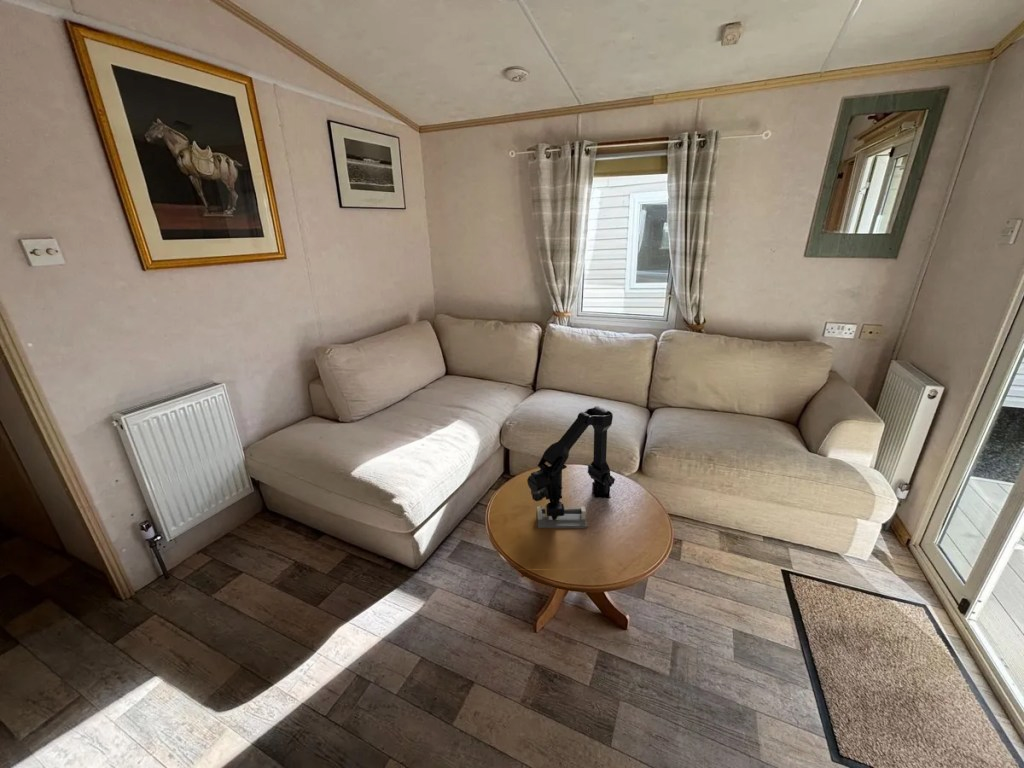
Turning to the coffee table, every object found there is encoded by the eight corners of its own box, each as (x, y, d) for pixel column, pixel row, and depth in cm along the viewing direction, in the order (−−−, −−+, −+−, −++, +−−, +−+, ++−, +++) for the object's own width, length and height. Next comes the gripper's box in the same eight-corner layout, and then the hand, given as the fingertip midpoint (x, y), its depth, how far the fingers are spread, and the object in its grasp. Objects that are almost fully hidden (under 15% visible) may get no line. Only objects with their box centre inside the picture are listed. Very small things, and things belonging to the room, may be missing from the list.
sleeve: (558, 512, 153) (558, 502, 151) (559, 519, 149) (559, 510, 147) (548, 512, 153) (548, 502, 152) (548, 519, 149) (548, 510, 147)
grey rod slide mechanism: (583, 510, 156) (583, 499, 154) (586, 528, 146) (587, 516, 145) (537, 510, 156) (537, 499, 155) (538, 527, 147) (538, 516, 145)
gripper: (531, 466, 154) (532, 499, 160) (532, 496, 137) (532, 532, 143) (560, 466, 154) (559, 499, 160) (564, 496, 137) (564, 532, 142)
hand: (553, 515), depth 151 cm, fingers closed on sleeve, 4 cm apart
